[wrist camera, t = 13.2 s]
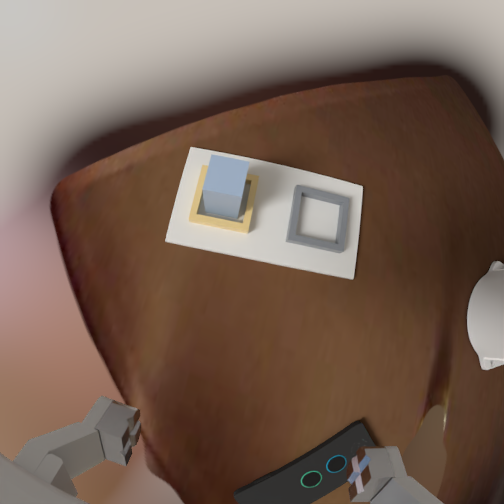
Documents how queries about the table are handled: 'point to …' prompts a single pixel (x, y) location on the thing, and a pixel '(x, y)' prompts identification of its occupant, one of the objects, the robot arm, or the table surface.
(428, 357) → the table surface
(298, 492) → the smart home device
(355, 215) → the white board with frames
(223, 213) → the plug
